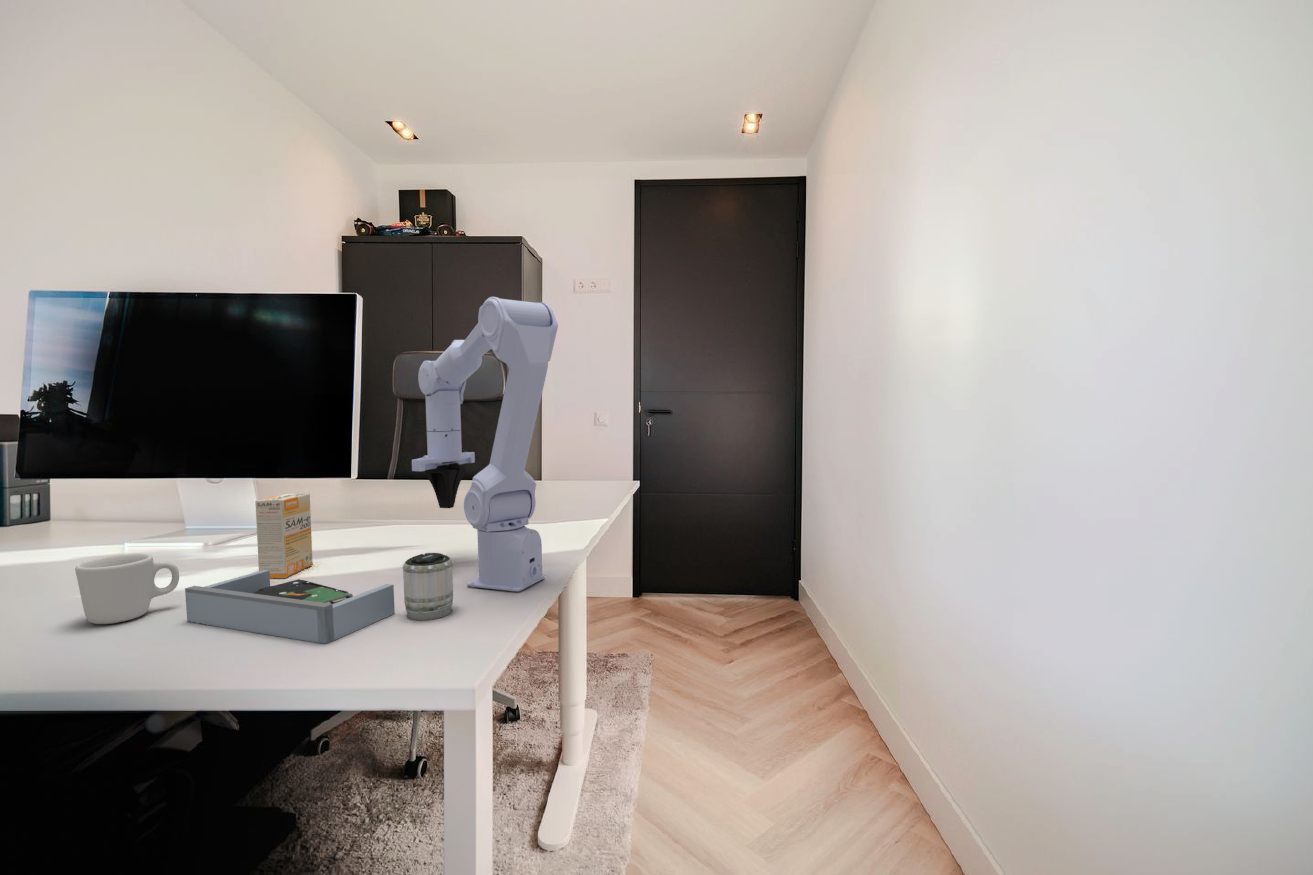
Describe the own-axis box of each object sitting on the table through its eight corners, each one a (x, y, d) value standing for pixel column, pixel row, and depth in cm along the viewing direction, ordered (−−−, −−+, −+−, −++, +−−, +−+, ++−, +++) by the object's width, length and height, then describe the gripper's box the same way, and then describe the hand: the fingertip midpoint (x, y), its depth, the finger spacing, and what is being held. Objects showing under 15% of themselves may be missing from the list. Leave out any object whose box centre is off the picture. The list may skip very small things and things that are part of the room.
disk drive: (225, 617, 88) (283, 635, 80) (224, 597, 88) (281, 613, 80) (300, 596, 97) (359, 611, 89) (299, 578, 96) (357, 591, 89)
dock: (394, 613, 86) (393, 581, 86) (325, 643, 76) (324, 607, 75) (265, 596, 95) (263, 566, 94) (187, 621, 84) (185, 588, 84)
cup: (176, 600, 93) (173, 546, 93) (185, 612, 88) (182, 556, 87) (77, 618, 86) (73, 560, 85) (81, 634, 80) (76, 571, 80)
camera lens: (394, 618, 84) (392, 560, 84) (426, 603, 90) (424, 549, 90) (433, 623, 82) (430, 563, 82) (463, 608, 88) (461, 552, 88)
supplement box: (287, 578, 104) (282, 499, 103) (257, 579, 104) (253, 500, 103) (314, 565, 112) (311, 492, 111) (287, 565, 112) (284, 492, 111)
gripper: (451, 428, 119) (453, 499, 120) (395, 433, 105) (399, 513, 106) (483, 428, 117) (485, 501, 118) (430, 433, 103) (433, 515, 104)
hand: (446, 507), depth 112 cm, fingers closed
